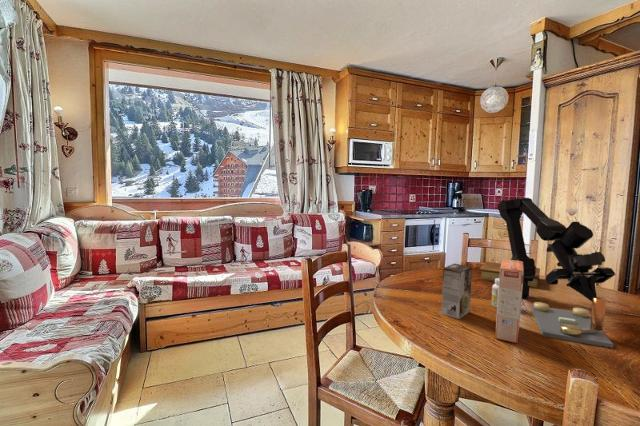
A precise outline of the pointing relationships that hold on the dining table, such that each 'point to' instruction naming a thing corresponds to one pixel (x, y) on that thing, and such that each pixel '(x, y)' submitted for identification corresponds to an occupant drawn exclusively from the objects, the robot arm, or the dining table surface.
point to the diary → (493, 271)
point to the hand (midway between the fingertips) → (595, 301)
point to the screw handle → (596, 320)
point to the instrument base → (579, 317)
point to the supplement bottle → (495, 292)
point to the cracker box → (509, 300)
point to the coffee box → (456, 290)
